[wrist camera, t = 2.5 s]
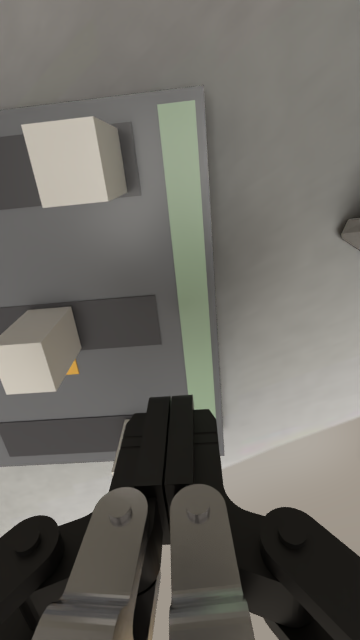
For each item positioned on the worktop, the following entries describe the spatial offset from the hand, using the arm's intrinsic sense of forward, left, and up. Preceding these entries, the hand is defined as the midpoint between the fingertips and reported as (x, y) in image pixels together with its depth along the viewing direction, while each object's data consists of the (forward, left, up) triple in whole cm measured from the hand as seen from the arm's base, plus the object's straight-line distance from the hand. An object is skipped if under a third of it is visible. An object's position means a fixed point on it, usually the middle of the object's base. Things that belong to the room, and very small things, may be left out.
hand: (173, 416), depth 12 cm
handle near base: (-8, -3, -8) cm, 12 cm away
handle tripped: (0, -7, -8) cm, 10 cm away
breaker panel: (0, -7, -10) cm, 12 cm away
